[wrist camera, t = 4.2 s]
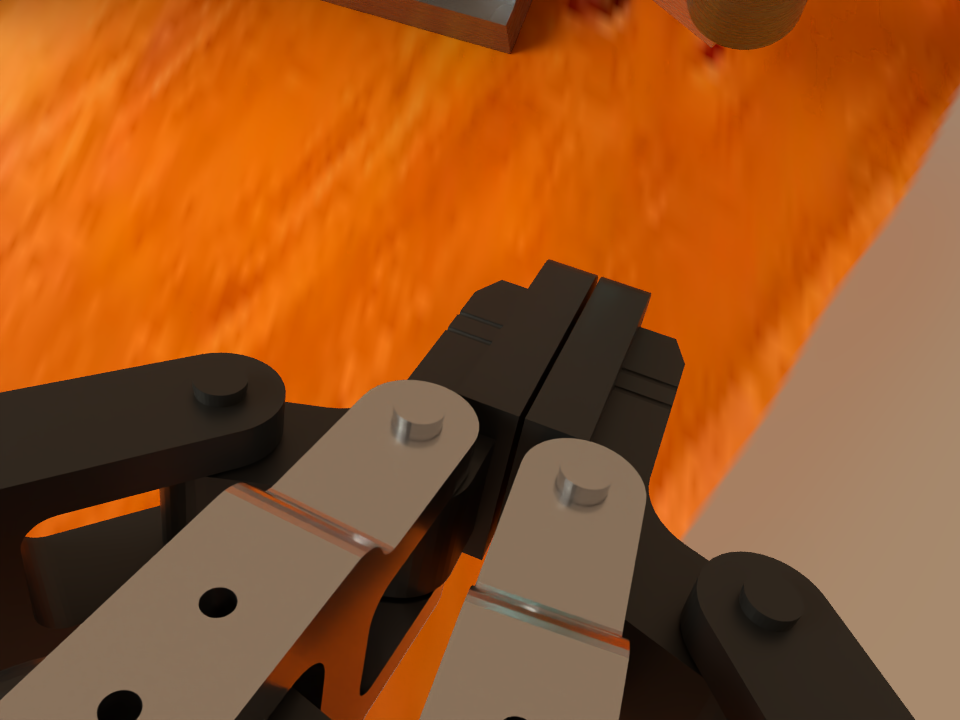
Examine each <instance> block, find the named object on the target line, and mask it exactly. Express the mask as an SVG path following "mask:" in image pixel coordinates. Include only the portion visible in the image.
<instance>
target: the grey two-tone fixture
mask: <svg viewBox="0 0 960 720" xmlns="http://www.w3.org/2000/svg"><path fill="white" fill-rule="evenodd" d="M653 1H654V2H656V3H657V4H658V5H659V6H661V7H662V8H663V9H664V10H666V11H667V12H668V13H669V14H670V15H672V16H673V17H674V18H675V19H677V20H678V21H679V22H680V23H682V24H683V25H684V26H685V27H687V28H688V29H689V30H690V31H691V32H693V33H694V34H695V35H696V36H698V37H699V38H700V39H701V40H703V41H704V42H705V43H706V44H708V45H709V46H710V47H711V48H712V47H713V46H714V45H715V44H719V45H721V46H724V47H728V48H732V49H739V50H749V49H757V48H761V47H765V46H768V45H770V44H773V43H775V42H777V41H778V40H780V39H781V38H783V37H784V36H785V35H787V34H788V33H789V32H790V31H791V30H792V29H793V27H794V26H795V25H796V23H797V22H798V20H799V18H800V16H801V14H802V12H803V9H804V7H805V4H806V2H807V0H653Z"/></svg>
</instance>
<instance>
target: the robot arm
mask: <svg viewBox="0 0 960 720" xmlns="http://www.w3.org/2000/svg"><path fill="white" fill-rule="evenodd" d="M597 280H598V275H595V274H592V273H589V272H586V271H583V270H580V269H577V268H574V267H571V266H568V265H565V264H562V263H559V262H556V261H553V260H550V259H549V260H547V261H546V263H545V264H544V266H543V267H542V269H541V270H540V272H539V273H538V275H537V276H536V278H535V279H534V281H533V282H532V284H531V285H530V287H529V288H528V289H527V288H524V287H521V286H518V285H515V284H512V283H509V282H506V281H504V280H501V281H498V282H496V283H494V284H492V285H490V286H487V287H485V288H483V289H481V290H478V291H476V292H475V293H474V294H473V296H472V297H471V298H470V299H469V301H468V302H467V303H466V305H465V306H464V307H463V308H462V310H461V312H460V314H459V315H457V316H456V317H455V319H454V320H453V321H452V323H451V324H450V325H449V327H448V330H445V332H444V333H443V334H442V336H441V337H440V338H439V339H438V341H437V342H436V343H435V345H434V346H433V347H432V348H431V350H430V351H429V352H428V354H427V355H426V356H425V358H424V359H423V360H422V361H421V363H420V364H419V365H418V367H417V368H416V369H415V370H414V372H413V373H412V374H411V376H410V377H409V378H408V379H407V380H399V381H392V382H388V383H384V384H382V385H379V386H377V387H375V388H373V389H371V390H370V391H368V392H367V393H366V394H365V395H363V397H362V398H361V399H360V400H359V401H358V402H357V403H356V404H355V405H354V406H353V407H352V408H341V409H338V408H326V407H319V406H311V405H304V404H297V403H289V402H285V393H286V391H285V386H284V383H283V381H282V379H281V377H280V376H279V375H278V373H277V372H276V371H275V370H273V369H272V368H271V367H270V366H268V365H267V364H265V363H263V362H261V361H259V360H257V359H254V358H251V357H248V356H244V355H239V354H233V353H208V354H201V355H196V356H190V357H185V358H180V359H175V360H169V361H164V362H159V363H154V364H148V365H143V366H138V367H133V368H127V369H122V370H117V371H112V372H106V373H101V374H96V375H91V376H85V377H80V378H75V379H70V380H64V381H59V382H54V383H49V384H43V385H38V386H33V387H27V388H22V389H17V390H12V391H6V392H1V393H0V720H364V718H365V716H366V714H367V713H368V711H369V709H370V708H371V706H372V705H373V703H374V702H375V700H376V698H377V697H378V695H379V694H380V692H381V691H382V689H383V688H384V686H385V684H386V683H387V681H388V680H389V678H390V677H391V675H392V674H393V672H394V670H395V669H396V667H397V666H398V664H399V663H400V661H401V660H402V658H403V656H404V655H405V653H406V652H407V650H408V649H409V647H410V646H411V644H412V642H413V641H414V639H415V638H416V636H417V635H418V633H419V632H420V630H421V628H422V627H423V625H424V624H425V622H426V621H427V619H428V618H429V616H430V614H431V613H432V611H433V610H434V608H435V607H436V605H437V603H438V601H439V599H440V597H441V594H442V590H443V586H444V582H445V581H446V580H447V578H448V577H449V576H450V574H451V572H452V570H453V568H454V566H455V565H456V563H457V561H458V559H459V557H460V555H461V553H462V552H463V553H466V554H468V555H470V556H473V557H475V558H478V559H480V560H482V559H483V557H484V554H485V552H486V550H487V548H488V546H489V544H490V542H491V540H492V542H491V545H490V547H489V550H488V553H487V555H486V558H485V561H484V564H483V566H482V569H481V572H480V574H479V577H478V580H477V582H476V585H475V586H473V585H472V586H471V588H470V589H469V592H468V594H467V596H466V598H465V601H464V603H463V606H462V609H461V611H460V614H459V617H458V619H457V622H456V624H455V627H454V630H453V632H452V635H451V638H450V640H449V643H448V645H447V648H446V651H445V653H444V656H443V659H442V661H441V664H440V667H439V669H438V672H437V674H436V677H435V680H434V682H433V685H432V688H431V690H430V693H429V696H428V698H427V701H426V703H425V706H424V709H423V711H422V714H421V717H420V719H419V720H915V719H914V717H913V716H912V715H911V713H910V712H909V711H908V709H907V708H906V707H905V705H904V704H903V703H902V701H901V700H900V698H899V697H898V696H897V695H896V693H895V692H894V690H893V689H892V687H891V686H890V685H889V683H888V682H887V681H886V680H885V678H884V677H883V675H882V674H881V672H880V671H879V670H878V669H877V667H876V666H875V664H874V663H873V662H872V660H871V659H870V658H869V656H868V655H867V653H866V652H865V651H864V649H863V648H862V647H861V645H860V644H859V643H858V641H857V640H856V639H855V637H854V636H853V634H852V633H851V632H850V630H849V629H848V628H847V626H846V625H845V623H844V622H843V621H842V619H841V618H840V617H839V615H838V614H837V613H836V611H835V610H834V609H833V607H832V606H831V604H830V603H829V602H828V600H827V599H826V598H825V596H824V595H823V594H822V593H821V592H820V590H819V589H818V588H817V587H816V586H815V585H814V584H813V583H812V582H811V581H810V580H809V579H807V578H806V577H805V576H804V575H802V574H801V573H800V572H798V571H797V570H795V569H793V568H792V567H790V566H788V565H787V564H785V563H782V562H781V561H778V560H776V559H774V558H771V557H768V556H765V555H761V554H756V553H752V552H729V553H725V554H721V555H719V556H717V557H715V558H713V559H711V560H710V561H708V560H707V559H705V558H704V557H702V556H701V555H699V554H698V553H697V552H695V551H693V550H692V549H691V548H689V547H688V546H686V545H685V544H684V543H682V542H681V541H680V540H678V539H677V538H676V537H675V536H674V535H673V534H672V533H671V532H670V531H669V530H668V529H667V528H666V527H665V526H664V524H663V523H662V522H661V521H660V519H659V518H658V516H657V514H656V513H655V511H654V509H653V506H652V504H651V501H650V497H649V487H648V486H649V481H650V476H651V473H652V470H653V467H654V463H655V460H656V457H657V454H658V450H659V447H660V444H661V441H662V437H663V434H664V431H665V428H666V424H667V421H668V418H669V414H670V411H671V407H672V405H673V401H674V398H675V395H676V392H677V388H678V385H679V382H680V379H681V375H682V372H683V369H684V365H685V363H684V360H683V357H682V355H681V352H680V349H679V346H678V343H677V341H676V339H674V338H671V337H668V336H665V335H662V334H659V333H656V332H653V331H650V330H647V329H644V328H642V327H641V324H642V321H643V318H644V315H645V312H646V309H647V306H648V303H649V300H650V297H651V293H649V292H646V291H643V290H640V289H637V288H634V287H631V286H628V285H625V284H622V283H619V282H616V281H613V280H610V279H607V278H604V277H601V278H600V280H599V282H598V284H597ZM156 489H160V505H161V506H157V507H153V508H149V509H146V510H142V511H138V512H135V513H131V514H127V515H124V516H120V517H116V518H113V519H109V520H105V521H102V522H98V523H94V524H91V525H87V526H83V527H79V528H76V529H72V530H68V531H65V532H61V533H57V534H54V535H50V536H46V537H40V538H30V537H25V536H26V534H27V533H28V532H29V531H30V530H31V529H32V528H33V527H35V526H36V525H37V524H39V523H40V522H42V521H44V520H46V519H48V518H51V517H54V516H57V515H60V514H64V513H68V512H72V511H76V510H80V509H83V508H87V507H91V506H95V505H99V504H103V503H106V502H110V501H114V500H118V499H122V498H125V497H129V496H133V495H137V494H141V493H145V492H148V491H152V490H156ZM493 536H494V537H493ZM492 538H493V539H492Z"/></svg>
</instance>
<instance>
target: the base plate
mask: <svg viewBox="0 0 960 720" xmlns="http://www.w3.org/2000/svg"><path fill="white" fill-rule="evenodd" d="M322 1H326V2H329V3H333V4H336V5H340V6H343V7H347V8H351V9H354V10H358V11H361V12H365V13H368V14H372V15H375V16H379V17H382V18H386V19H389V20H393V21H396V22H400V23H403V24H407V25H410V26H414V27H417V28H421V29H424V30H428V31H431V32H435V33H438V34H442V35H445V36H449V37H452V38H456V39H459V40H463V41H466V42H470V43H473V44H477V45H480V46H484V47H487V48H491V49H494V50H498V51H501V52H505V53H508V54H511V51H512V49H513V46H514V44H515V41H516V39H517V37H518V34H519V32H520V29H521V27H522V24H523V22H524V19H525V17H526V14H527V12H528V9H529V7H530V4H531V2H532V0H322Z"/></svg>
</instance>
